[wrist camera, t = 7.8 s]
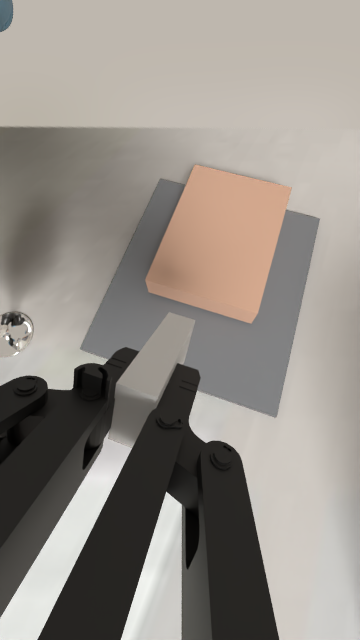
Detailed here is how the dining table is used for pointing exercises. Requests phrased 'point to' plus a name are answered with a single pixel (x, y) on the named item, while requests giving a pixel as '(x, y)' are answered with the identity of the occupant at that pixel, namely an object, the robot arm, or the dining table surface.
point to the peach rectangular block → (220, 243)
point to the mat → (211, 328)
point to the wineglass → (14, 333)
